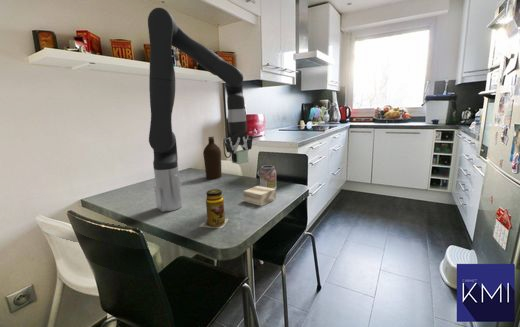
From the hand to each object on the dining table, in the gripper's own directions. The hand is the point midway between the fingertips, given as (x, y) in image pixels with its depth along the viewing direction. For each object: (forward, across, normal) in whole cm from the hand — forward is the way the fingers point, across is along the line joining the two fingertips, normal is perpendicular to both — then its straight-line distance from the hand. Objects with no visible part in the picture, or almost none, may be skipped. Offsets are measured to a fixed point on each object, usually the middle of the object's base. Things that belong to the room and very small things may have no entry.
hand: (240, 160), depth 106 cm
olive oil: (+18, +14, +48) cm, 53 cm away
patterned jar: (+19, +18, +4) cm, 26 cm away
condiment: (+18, -21, -10) cm, 30 cm away
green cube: (+1, 0, 0) cm, 1 cm away
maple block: (+19, +6, -4) cm, 20 cm away
